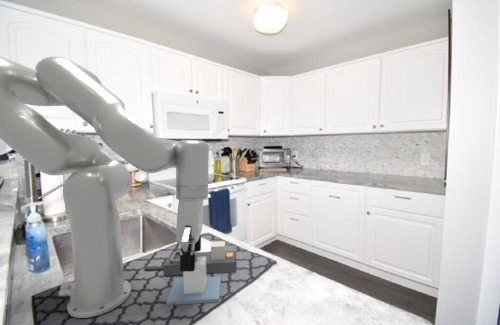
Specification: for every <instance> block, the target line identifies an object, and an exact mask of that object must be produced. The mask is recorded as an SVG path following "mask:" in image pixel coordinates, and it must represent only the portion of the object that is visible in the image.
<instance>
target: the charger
mask: <svg viewBox="0 0 500 325" xmlns="http://www.w3.org/2000/svg"><path fill="white" fill-rule="evenodd" d="M182 276H183V277H182V278H183V280H184V294H190V293H205V290H206V284H207V277H208V275H207V274H206V257H197V256H196V255H195V270H194V271H186V272H183V275H182Z"/></svg>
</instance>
